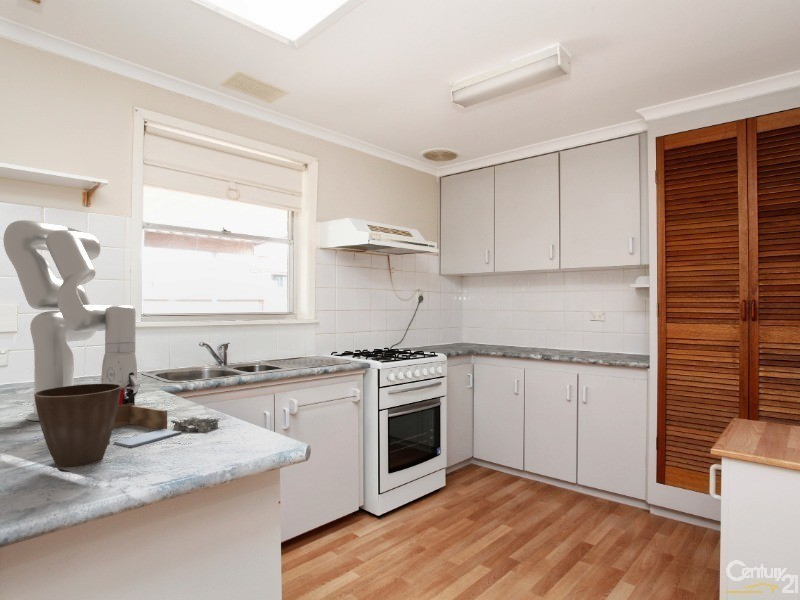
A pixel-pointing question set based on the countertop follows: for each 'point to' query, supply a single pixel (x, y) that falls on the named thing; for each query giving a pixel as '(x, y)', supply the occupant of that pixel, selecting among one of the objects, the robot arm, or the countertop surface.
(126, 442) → the panel
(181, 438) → the countertop surface
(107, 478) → the countertop surface
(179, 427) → the egg carton
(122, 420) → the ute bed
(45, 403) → the plant pot
